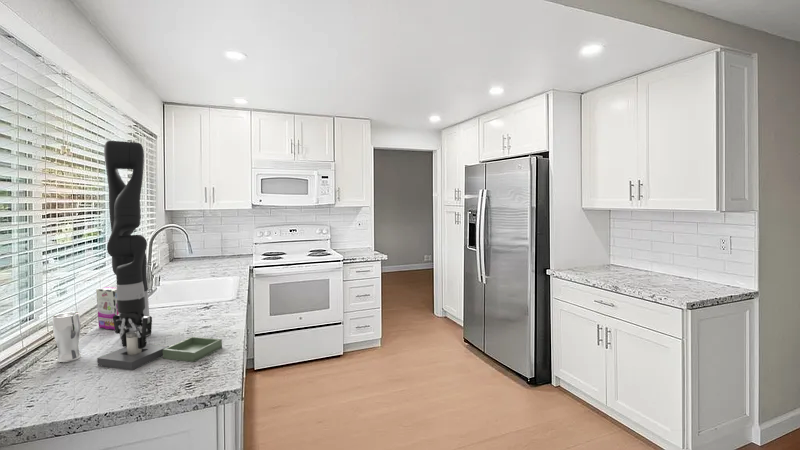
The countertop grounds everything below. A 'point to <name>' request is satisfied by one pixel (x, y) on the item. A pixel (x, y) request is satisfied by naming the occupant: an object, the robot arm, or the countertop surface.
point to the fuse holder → (131, 357)
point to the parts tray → (192, 349)
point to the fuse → (132, 343)
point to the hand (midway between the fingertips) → (134, 346)
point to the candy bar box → (107, 307)
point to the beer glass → (67, 335)
